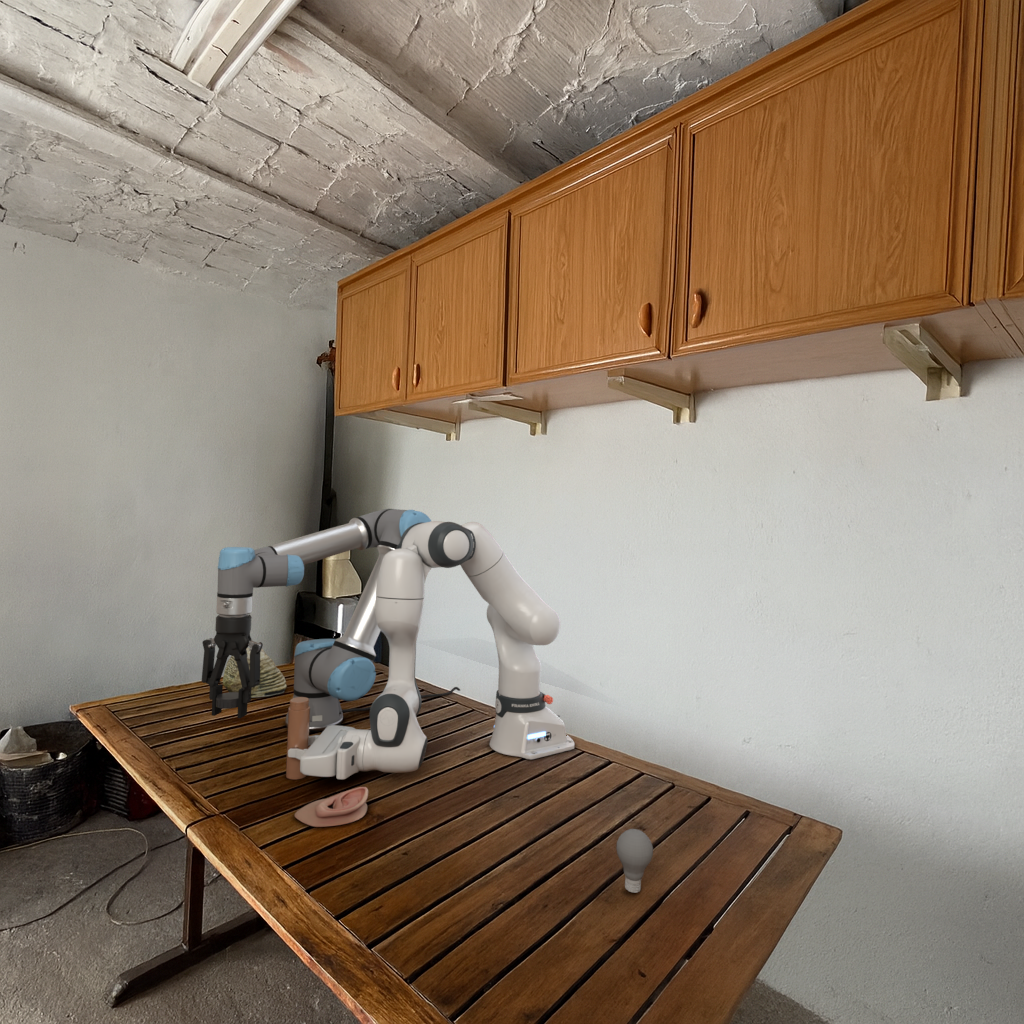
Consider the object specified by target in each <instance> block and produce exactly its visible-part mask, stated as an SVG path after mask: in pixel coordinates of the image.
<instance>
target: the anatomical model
mask: <svg viewBox="0 0 1024 1024" xmlns="http://www.w3.org/2000/svg"><path fill="white" fill-rule="evenodd" d="M368 797H369V789H368V787H366V786H360V787H355V788H352V789H348V790H346V791H341V792H340V793H337V794H334V795H332V796H330V797H327V798H322V799H318V800H315V801H312V802H309V803H308V804H306V805H304V806H302V807H301V808H299V809H298V810H297V811H296V812H295V813H294V818H295V819H297V820H298V821H300V822H301V823H303V824H305V825H308V826H310V827H314V828H315V827H316V828H323V827H334V826H341V825H346V824H351V823H353V822H356V821H358V820H361V819H362V818H363V817H364V816H365V815H366V814H367V811H368V804H367V800H368Z"/></svg>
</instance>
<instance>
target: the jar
mask: <svg viewBox="0 0 1024 1024" xmlns="http://www.w3.org/2000/svg"><path fill="white" fill-rule="evenodd" d="M287 713H288V727H287V735H286V737H287V738H286V765H285V777H286V778H287V780H301V779H304V778H306V777H307V776H308V775H304V774H302V773H301V772H300V760H299V759H297V758H293V757H288V750H289V749H290V748H291V747H298V749H302V750H304V749H308V748H309V747H310V745H309V736H310V732H309V724H310V706H309V699H308V698H306V697H296V698H293V697H292V698H291V699H290V700H289V707H288V709H287Z"/></svg>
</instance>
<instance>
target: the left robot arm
mask: <svg viewBox="0 0 1024 1024" xmlns="http://www.w3.org/2000/svg"><path fill="white" fill-rule="evenodd" d="M431 521H432V519H431V517H430V516H428V515H427V514H426V513H424V512H423V511H419V510H415V509H398V508H384V509H378V510H375V511H372V512H370V513H366V514H363V515H360V516H356V517H353V518H351V519H350V520H349V521H348V523H345V524H342V525H337V526H333V527H330V528H327V529H324V530H320V531H315V532H313V533H309V534H306V535H302V536H300V537H295V538H292V539H289V540H285V541H281V542H278V543H275V544H274V543H273V544H271V545H267V546H263V547H260V548H257V549H254V548H253V547H247V546H227V547H226V546H225V547H223V548H222V549H221V550H220V551H219V554H218V555H219V556H218V561H217V562H218V564H217V592H216V610H215V611H216V612H215V613H216V614H217V615H216V617H215V629H214V630H215V636H213V638H212V637H209V638H207V639H203V640H202V647H203V659H202V671H201V683H202V684H207V685H208V686H209V693H208V695H209V696H208V697H209V701H211V716H212V717H215V716H217V715H219V714H222V713H223V712H222V708H218V707H216V698H217V696H218V695H219V694H222V693H223V692H224V691H223V689H224V688H223V687H224V685H223V683H222V681H221V680H222V676H223V674H224V671H225V668H226V665H227V662H228V659H229V658H230V657H231V656H234V659H235V661H236V662H237V667H238V671H239V676H240V680H241V685H242V688H240V689H239V694H238V707H237V716H236V717H237V719H242V718H244V717H246V716H247V715H248V703H250V702H251V700H252V698H251V689H252V687H255V686H257V685H259V684H260V652H261V649H263V645H264V644H263V642H261V641H259V642H258V641H257V642H256V641H254V640H253V639H252V636H251V631H252V619H253V618H252V615H251V613H252V612H253V595H254V588H255V589H257V588H274V587H286V588H288V587H291V586H296V585H299V584H300V583H301V582H302V581H303V578H304V576H305V565H307V564H311V563H314V562H317V561H320V560H324V559H327V558H330V557H335V556H337V555H340V554H343V553H346V552H349V551H352V550H356V549H357V550H359V551H363V550H368V549H372V548H376V549H377V551H378V554H379V555H378V557H377V560H376V562H375V563H374V566H373V568H372V570H371V573H370V576H369V577H368V580H367V582H366V584H365V586H364V588H363V591H362V593H361V595H360V597H359V599H358V602H357V604H356V606H355V609H354V611H353V613H352V616H351V617H350V620H349V622H348V624H347V626H346V629H345V631H344V634H343V635H342V636H339V637H338V638H319V639H308V640H303V641H300V642H299V643H298V642H297V644H296V646H295V650H294V655H293V657H294V672H293V695H292V696H293V697H292V698H296V697H306V698H308V699H309V706H310V724H309V733H316V732H323V731H324V730H325V729H326V727H327V726H331V725H338V726H341V725H342V723H343V722H344V714H343V713H351V712H353V713H354V712H366V711H370V709H371V706H368V707H361V708H358V707H357V708H345V709H342V706H341V702H340V700H342V701H345V702H353V701H354V702H355V701H357V700H359V699H360V698H363V697H364V696H366V695H367V693H369V692H370V691H371V689H372V687H373V686H374V684H375V682H376V677H377V671H376V666H375V664H374V661H375V659H376V657H377V654H376V651H375V649H374V648H375V645H376V643H377V641H378V639H379V638H378V637H379V635H380V633H381V632H382V631H381V630H380V629H379V627H378V626H377V621H376V613H375V599H376V588H377V580H378V575H379V570H380V566H381V563H382V559H383V557H384V556H385V554H387V553H388V552H390V551H392V550H394V549H396V548H397V546H398V544H399V543H400V539H401V537H402V535H403V533H404V532H405V531H406V529H407V528H409V527H410V526H412V525H414V524H417V523H422V522H423V523H426V522H431ZM216 646H217V648H218V651H217V653H216ZM247 648H250V649H249V651H251V652H250V670H249V665H248V661H247V656H248V655H247V650H246V649H247ZM215 656H216V657H215ZM215 659H216V660H215ZM456 690H457V691H458V692H460V691H461V688H460V687H458V686H454V687H453V688H452V689H450V690H449V691H446V692H441V693H431V694H430V693H429V694H420V695H421V699H423V698H434V697H435V698H436V697H445V696H449V695H450V694H452V693H453V692H454V691H456ZM285 726H286V728H288V712H287V713H286V715H285Z"/></svg>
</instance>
